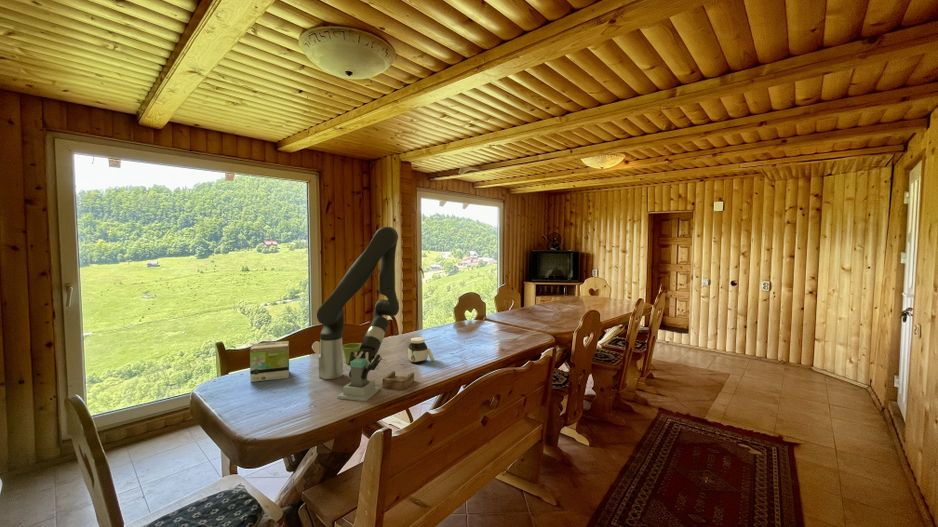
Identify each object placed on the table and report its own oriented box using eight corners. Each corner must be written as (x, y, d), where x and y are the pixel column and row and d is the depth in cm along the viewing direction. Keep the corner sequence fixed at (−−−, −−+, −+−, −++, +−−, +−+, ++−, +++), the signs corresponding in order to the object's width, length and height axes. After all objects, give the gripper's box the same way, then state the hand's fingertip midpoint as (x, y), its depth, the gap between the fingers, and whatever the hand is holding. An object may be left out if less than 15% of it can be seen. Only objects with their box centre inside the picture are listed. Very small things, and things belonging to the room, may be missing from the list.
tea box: (250, 383, 161) (249, 349, 160) (252, 375, 170) (251, 343, 169) (289, 378, 167) (288, 345, 166) (289, 371, 176) (289, 339, 175)
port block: (337, 398, 145) (337, 388, 145) (353, 386, 157) (353, 377, 157) (365, 401, 143) (365, 391, 142) (380, 389, 154) (380, 379, 154)
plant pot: (358, 365, 183) (358, 348, 183) (339, 365, 183) (339, 348, 183) (364, 359, 193) (364, 343, 192) (346, 359, 193) (345, 343, 192)
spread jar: (405, 361, 191) (405, 338, 190) (424, 356, 198) (423, 334, 198) (419, 366, 182) (419, 343, 181) (438, 361, 190) (438, 338, 189)
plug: (350, 389, 148) (350, 361, 147) (357, 384, 152) (356, 358, 152) (361, 390, 147) (361, 362, 146) (367, 385, 151) (367, 358, 151)
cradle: (382, 387, 156) (382, 379, 156) (392, 378, 166) (392, 371, 166) (405, 389, 154) (405, 381, 154) (414, 380, 164) (414, 372, 163)
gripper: (354, 333, 158) (336, 371, 147) (384, 336, 153) (368, 375, 143) (362, 343, 163) (345, 380, 152) (391, 345, 159) (376, 384, 148)
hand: (356, 377), depth 148 cm, fingers closed on plug, 4 cm apart
